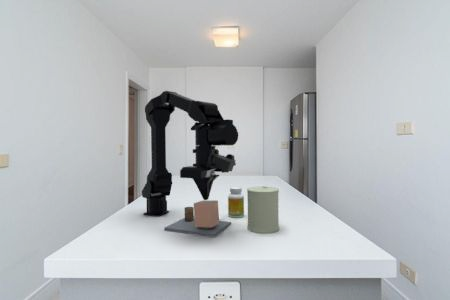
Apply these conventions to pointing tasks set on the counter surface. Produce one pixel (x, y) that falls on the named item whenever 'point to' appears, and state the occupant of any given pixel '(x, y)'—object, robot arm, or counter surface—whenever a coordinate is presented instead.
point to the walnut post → (189, 214)
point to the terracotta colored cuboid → (206, 213)
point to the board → (197, 228)
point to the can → (263, 209)
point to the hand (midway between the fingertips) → (205, 199)
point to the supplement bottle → (236, 203)
